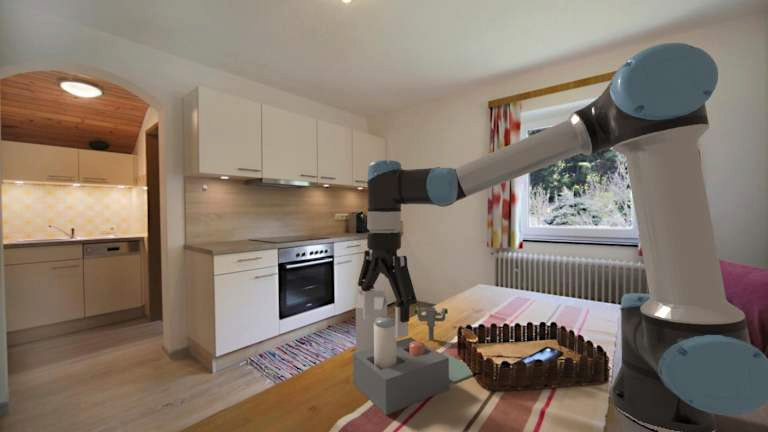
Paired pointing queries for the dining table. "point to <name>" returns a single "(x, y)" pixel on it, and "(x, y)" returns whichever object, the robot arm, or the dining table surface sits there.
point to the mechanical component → (430, 317)
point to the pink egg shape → (416, 348)
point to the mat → (457, 369)
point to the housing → (401, 377)
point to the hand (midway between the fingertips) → (383, 326)
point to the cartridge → (384, 343)
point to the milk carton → (368, 320)
